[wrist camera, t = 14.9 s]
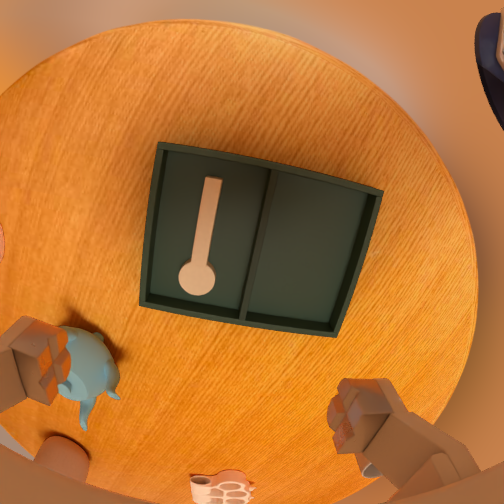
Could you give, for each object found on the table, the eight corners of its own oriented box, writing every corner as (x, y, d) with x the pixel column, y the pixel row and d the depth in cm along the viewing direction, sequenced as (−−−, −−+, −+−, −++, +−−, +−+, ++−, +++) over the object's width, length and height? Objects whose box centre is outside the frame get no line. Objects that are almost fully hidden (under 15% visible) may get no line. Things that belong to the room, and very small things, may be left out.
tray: (164, 142, 33) (157, 141, 30) (373, 187, 36) (384, 191, 33) (145, 295, 39) (138, 306, 36) (330, 326, 41) (336, 338, 38)
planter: (44, 442, 51) (29, 472, 40) (50, 422, 48) (32, 457, 37) (87, 467, 53) (76, 499, 43) (99, 451, 50) (86, 488, 40)
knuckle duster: (189, 466, 52) (259, 470, 53) (194, 498, 57) (252, 501, 58) (188, 478, 48) (260, 482, 49) (193, 508, 54) (252, 511, 55)
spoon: (196, 173, 34) (193, 174, 31) (234, 180, 34) (234, 182, 32) (178, 287, 38) (174, 295, 36) (212, 293, 38) (211, 302, 36)
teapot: (76, 297, 39) (42, 333, 29) (143, 357, 42) (125, 403, 32) (44, 342, 41) (16, 377, 31) (103, 392, 44) (84, 433, 35)
